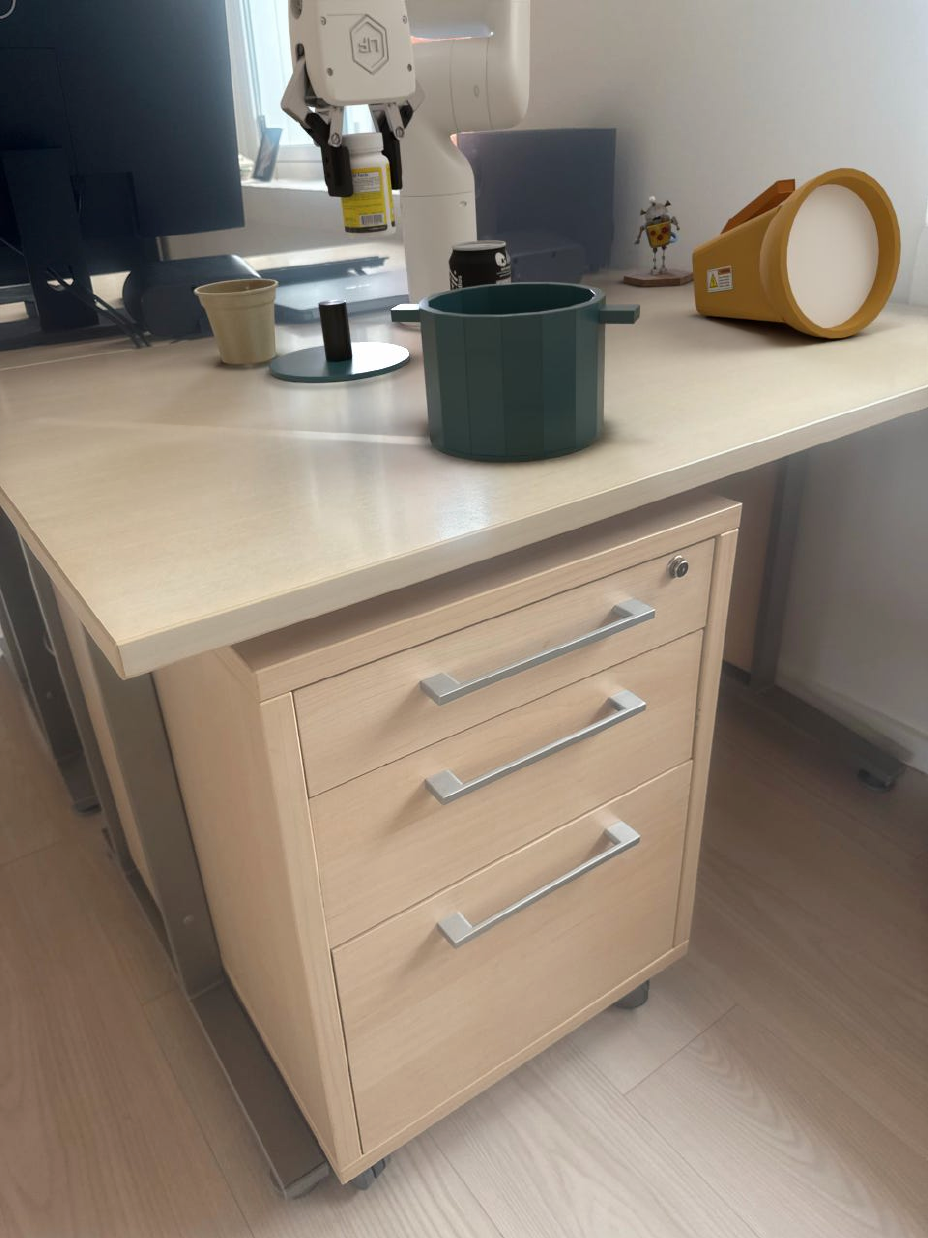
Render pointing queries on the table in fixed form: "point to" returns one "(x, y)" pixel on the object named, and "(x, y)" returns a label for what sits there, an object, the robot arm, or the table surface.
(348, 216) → the supplement bottle
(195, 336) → the table surface
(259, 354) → the flower pot
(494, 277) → the beverage can
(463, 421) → the pot
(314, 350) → the lid
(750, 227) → the flared yellow plastic housing
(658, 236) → the robot figurine
